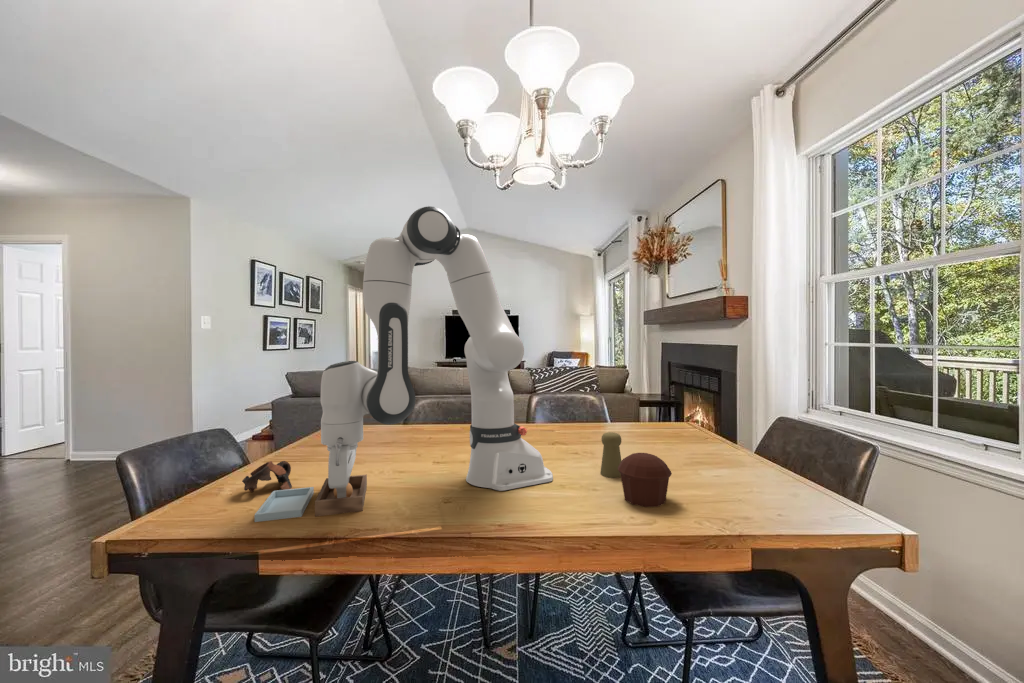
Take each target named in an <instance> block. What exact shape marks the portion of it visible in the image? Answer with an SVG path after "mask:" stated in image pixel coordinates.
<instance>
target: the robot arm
mask: <svg viewBox="0 0 1024 683" xmlns="http://www.w3.org/2000/svg"><path fill="white" fill-rule="evenodd" d="M365 258H366V259H365V265H364V270H363V281H362V298H363V305H364V306H363V307H364V312H365V313H366V315H367V316H368V317H369V319H370V321H372V323H373V325H374V327H375V331H376V333H377V334H376V335H377V371H376V370H374V369H371V368H368V367H366V366H365V365H364V364H361V363H360V362H359V361H357V360H347V361H342V362H341V361H340V362H337V363H333V364H330V365H328V366H327V367H326V368H325V369H324V370H323V372H322V373H321V374H322V375H321V381H320V405H321V409H322V415H321V419H320V443H321V445H323V446H327V451H328V452H329V455H328V463H327V464H328V469H327V470H328V471H327V472H328V473H327V474H328V475H327V478H328V484H329V488H331V489H333V488H336V490H337V498H345V497H346V496H347V490H346V486H347V485H348V483H349V478H350V476H352V475H351V474H352V471H353V468H354V465H355V461H356V457H357V448H358V445H359V444H358V443H360V442H362V441H363V440H364V416H365V415H370V416H371V417H372V418H373V419H374V420H375V421H377V422H378V423H381V424H383V425H395V424H399V423H402V422H403V421H404V420H406V419H407V418H408V417H409V416H410V415H411V414H412V413H413V410H414V409H415V405H416V393H415V392H416V391H415V390H414V387H413V384H412V382H411V379H410V376H409V317H410V307H411V299H412V285H413V284H412V282H413V281H412V280H413V278H412V277H413V271H414V268H415V267H418V266H424V265H428V264H430V263H432V262H434V261H435V260H436V261H438V263H439V264H441V265H442V267H443V268H444V270H445V272H446V276H447V279H448V282H449V283H448V284H449V286H450V290H451V293H452V296H453V299H454V302H455V306H456V310H457V314H458V315H459V316H460V318H461V320H462V321H463V324H464V325H465V327H466V330H467V331H468V335H469V337H468V339H467V341H466V342H465V344H464V350H463V351H464V356H465V359H466V369H467V376H468V382H469V389H470V399H471V424H470V425H469V426H470V428H469V445H470V459H469V465H468V471H467V473H466V477H465V481H466V482H467V483H469V484H470V485H472V486H475V487H479V488H480V487H481V488H488V489H492V490H495V491H500V492H502V491H508V490H513V489H518V488H523V487H529V486H535V485H538V484H539V485H540V484H544V483H550V482H552V481H553V479H554V476H553V472H552V471H551V470H550V469H549V468H547V467H546V466H545V465H544V459H543V455H542V454H541V452H540V451H539V450H538V449H536V448H535V447H534V446H533V445H532V444H530V443H529V442H527V441H526V440H525V439H523V438H522V436H523V437H524V436H526V435H527V433H528V430H527V428H526V427H524V426H520V425H518V424H516V423H515V400H514V399H515V396H514V392H513V389H512V386H511V383H510V380H509V373H508V372H509V371H512V370H514V369H515V368H517V367H518V366H519V365H520V364H521V362H522V360H523V358H524V356H525V346H524V343H523V341H522V339H521V338H520V337H519V336H518V334H517V333H516V332H515V329H514V327H513V326H512V323H511V322H510V319H509V317H508V315H507V313H506V312H505V309H504V308H503V305H502V303H501V300H500V298H499V294H498V290H497V287H496V284H495V281H494V277H493V274H492V270H491V266H490V265H489V262H488V259H487V257H486V254H485V252H484V250H483V247H482V246H481V244H480V241H479V240H478V238H477V237H476V236H474V235H471V234H467V233H465V234H463V233H461V231H460V229H459V227H458V226H457V225H455V223H454V222H453V221H452V219H451V218H450V216H449V215H448V214H447V213H446V212H445V211H443V209H441V208H439V207H436V206H429V205H428V206H423V207H420V208H418V209H417V210H415V211H414V212H412V214H411V215H410V216H409V218H407V221H405V224H404V225H403V228H402V230H401V232H400V234H399V236H397V237H387V236H385V237H380V238H378V239H375V240H373V241H372V242H371V244H370V245H369V247H368V251H367V254H366V257H365Z"/></svg>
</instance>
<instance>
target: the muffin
mask: <svg viewBox="0 0 1024 683" xmlns="http://www.w3.org/2000/svg"><path fill="white" fill-rule="evenodd" d="M618 471H619V472H620V474H621V477H620V478H621V484H622V490H623V496H624V497H623V498H624V501H626V502H628V503H630V504H631V505H634V506H639V507H644V508H651V507H652V508H659V507H661V506H662V505H665V504H666V500H667V494H668V489H669V480H670V477H671V476H672V470H671V469H670V468H669V466H668V465H667V464H666V461H664V460H663V459H661V458H660V457H658V456H657V455H655V454H651V453H647V452H636V453H635V452H633V453H631V454H630V455H627V456H626V457H624V458H623V459H621V463H620V464H619V466H618Z"/></svg>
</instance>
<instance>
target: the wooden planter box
mask: <svg viewBox="0 0 1024 683" xmlns="http://www.w3.org/2000/svg"><path fill="white" fill-rule="evenodd" d="M367 477H368V476H367V474H359V475H357V474H356V475H350V478H349V483H350V484H351V486H352V488H353V492H352V495H351V496H350V497H345V498H335V496H334V488H333V489H331V488H329V484H328V477H327V478H325V480H324V482H323V484H322V486H321V488H320V491H319V492H318V495H317V497H316V499H315V501H314V517H321V516H322V517H324V516H329V515H339V514H346V513H357V512H363V511H364V505H365V500H366V494H367V487H368V478H367Z"/></svg>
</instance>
